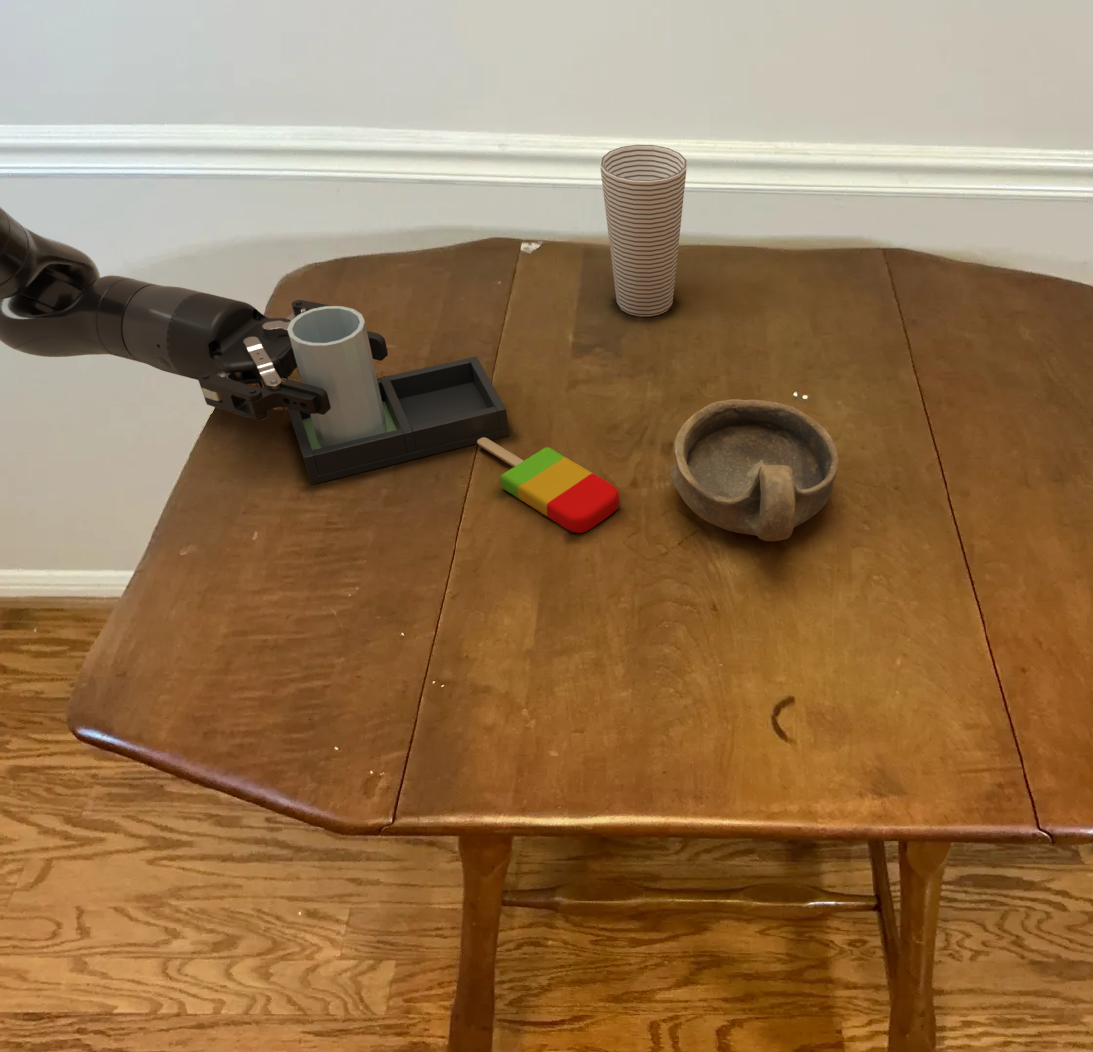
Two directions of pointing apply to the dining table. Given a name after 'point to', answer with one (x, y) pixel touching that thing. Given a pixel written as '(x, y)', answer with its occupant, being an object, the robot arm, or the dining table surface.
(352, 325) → the tumbler
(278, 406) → the robot arm
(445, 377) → the tray
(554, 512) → the popsicle
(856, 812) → the dining table surface
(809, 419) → the bowl
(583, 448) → the dining table surface
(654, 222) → the cup
